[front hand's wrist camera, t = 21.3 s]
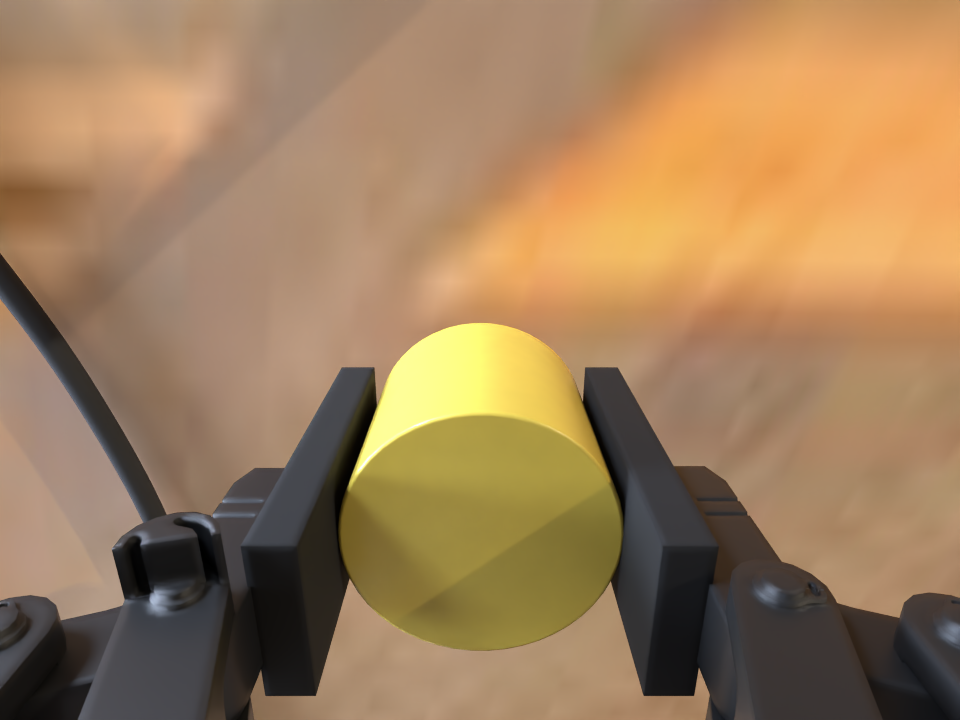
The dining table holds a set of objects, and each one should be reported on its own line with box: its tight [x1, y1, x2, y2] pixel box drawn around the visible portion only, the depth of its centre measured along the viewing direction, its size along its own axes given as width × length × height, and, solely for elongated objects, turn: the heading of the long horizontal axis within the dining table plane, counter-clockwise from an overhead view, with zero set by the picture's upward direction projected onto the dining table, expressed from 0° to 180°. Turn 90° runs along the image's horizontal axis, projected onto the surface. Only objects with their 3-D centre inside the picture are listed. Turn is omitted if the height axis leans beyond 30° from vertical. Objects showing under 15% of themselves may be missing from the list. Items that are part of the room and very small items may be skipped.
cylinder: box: [338, 323, 624, 651], centre depth 13 cm, size 5×5×5 cm
